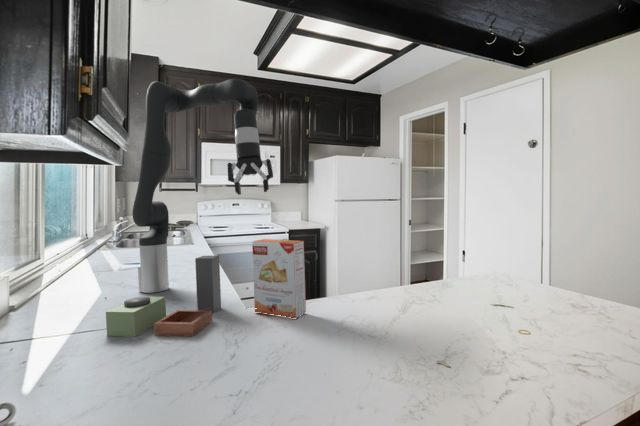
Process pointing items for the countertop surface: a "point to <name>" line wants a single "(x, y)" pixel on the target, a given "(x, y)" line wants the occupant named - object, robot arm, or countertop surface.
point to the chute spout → (208, 283)
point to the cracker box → (279, 277)
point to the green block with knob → (135, 316)
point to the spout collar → (183, 323)
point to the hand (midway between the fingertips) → (252, 193)
